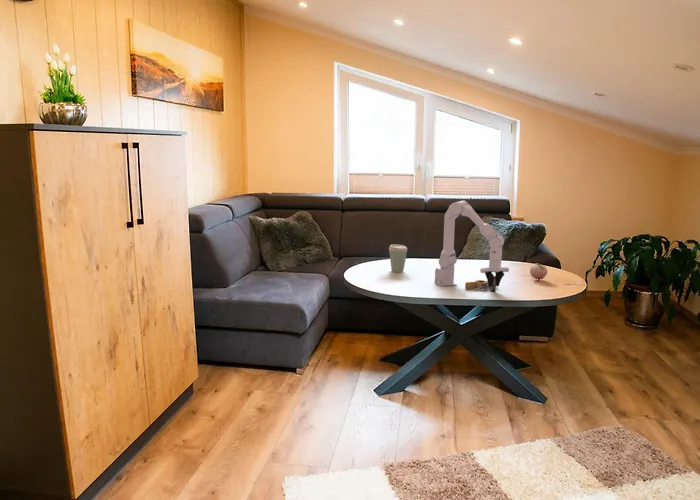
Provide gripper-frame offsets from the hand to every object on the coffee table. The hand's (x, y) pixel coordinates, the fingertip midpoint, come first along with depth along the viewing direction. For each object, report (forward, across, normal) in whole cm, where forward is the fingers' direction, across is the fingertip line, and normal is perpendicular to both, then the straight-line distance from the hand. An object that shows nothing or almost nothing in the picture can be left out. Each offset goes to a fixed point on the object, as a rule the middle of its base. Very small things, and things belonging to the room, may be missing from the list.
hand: (493, 286), depth 276 cm
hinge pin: (+3, 0, 0) cm, 3 cm away
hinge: (+3, -3, +8) cm, 9 cm away
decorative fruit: (+3, +35, +16) cm, 39 cm away
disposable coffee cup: (+3, -34, +48) cm, 59 cm away
